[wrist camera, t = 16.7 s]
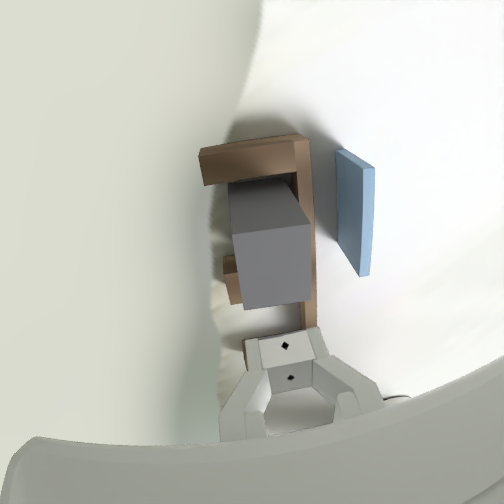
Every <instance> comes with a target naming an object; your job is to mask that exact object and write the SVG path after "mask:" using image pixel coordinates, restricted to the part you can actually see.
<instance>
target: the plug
mask: <svg viewBox="0 0 504 504" xmlns="http://www.w3.org/2000/svg"><path fill="white" fill-rule="evenodd" d="M228 195H229V208H230V220H231V232H232V240H233V246H234V252H235V258H236V265H237V271H238V277H239V283H240V289H241V295H242V301H243V307H244V310H250V309H257V308H264V307H271V306H277V305H284V304H290V303H296V302H302V301H308V300H311V283H312V261H311V223H310V221H309V220H308V218H307V216H306V215H305V213H304V211H303V210H302V208H301V206H300V205H299V203H298V201H297V200H296V198H295V196H294V195H293V193H292V192H291V190H290V188H289V187H288V185H287V183H286V182H285V180H284V179H283V177H274V178H266V179H258V180H250V181H243V182H235V183H228Z"/></svg>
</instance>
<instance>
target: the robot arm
mask: <svg viewBox="0 0 504 504" xmlns="http://www.w3.org/2000/svg"><path fill="white" fill-rule="evenodd" d="M258 342H259V343H258ZM245 348H246V356H247V364H248V372H245V373H244V375H243V377H242V378H241V380H240V382H239V383H238V385H237V386H236V388H235V390H234V391H233V393H232V395H231V396H230V398H229V399H228V401H227V403H226V404H225V406H224V407H223V409H222V410H221V412H220V414H219V431H220V443H209V444H196V445H174V446H128V445H107V444H93V443H82V442H73V441H65V440H58V439H51V438H45V437H33V438H32V439H30V440H29V441H28V442H26V444H24V445H23V446H22V447H21V448H20V449H19V450H18V451H17V452H16V453H15V454H14V455H13V457H12V458H11V460H10V463H9V465H8V468H7V471H6V475H5V478H4V482H3V486H2V491H1V496H0V504H504V355H503V356H501V357H499V358H498V359H496V360H494V361H492V362H490V363H488V364H487V365H485V366H483V367H481V368H479V369H477V370H475V371H473V372H471V373H469V374H467V375H465V376H462V377H460V378H458V379H456V380H454V381H452V382H449V383H447V384H445V385H443V386H440V387H438V388H436V389H433V390H431V391H428V392H426V393H423V394H421V395H418V396H416V397H413V398H409V397H396V398H392V399H388V400H384V401H383V399H382V396H381V394H380V392H379V389H378V387H377V385H376V383H375V382H374V381H372V380H370V379H369V378H367V377H366V376H364V375H363V374H361V373H360V372H358V371H357V370H355V369H354V368H352V367H351V366H349V365H347V364H346V363H344V362H343V361H341V360H340V359H338V358H337V357H335V356H334V355H332V356H330V355H329V352H328V349H327V347H326V344H325V341H324V339H323V336H322V333H321V331H320V328H319V327H318V326H317V327H313V328H308V329H303V330H298V331H293V332H289V333H284V334H280V335H274V336H267V337H261V338H255V339H249V340H245ZM311 386H312V387H313V388H314V389H315V390H316V391H317V392H318V393H319V394H321V395H322V396H323V397H324V398H325V399H326V400H327V401H328V402H330V403H331V404H332V405H333V406H334V407H335V412H334V418H333V423H330V424H326V425H322V426H317V427H313V428H309V429H304V430H299V431H294V432H289V433H284V434H278V435H273V436H269V435H268V431H267V427H266V423H265V419H264V415H263V414H264V411H265V409H266V407H267V405H268V403H269V400H270V398H271V396H272V394H275V393H280V392H285V391H289V390H295V389H300V388H306V387H311Z"/></svg>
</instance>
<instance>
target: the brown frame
mask: <svg viewBox="0 0 504 504" xmlns="http://www.w3.org/2000/svg"><path fill="white" fill-rule="evenodd" d="M335 153H336V176H337V219H338V245H339V246H340V248H341V249H342V251H343V252H344V254H345V255H346V257H347V259H348V260H349V262H350V263H351V265H352V266H353V268H354V270H355V271H356V273H357V274H358V276H359V277H363V276H368V275H369V273H370V262H371V250H372V236H373V218H374V191H375V168H374V167H373V166H371V165H370V164H368V163H367V162H365V161H364V160H362V159H360V158H359V157H357V156H356V155H354V154H353V153H351V152H349V151H348V150H346V149H340V150H335ZM198 157H199V162H200V167H201V172H202V177H203V182H204V186H207V185H213V184H218V183H224V182H230V181H236V180H242V179H248V178H254V177H261V176H267V175H274V174H281V173H288V172H290V180H291V191H292V193H293V195H294V196H295V198H296V200H297V201H298V203H299V205H300V206H301V208H302V210H303V211H304V213H305V215H306V216H307V218H308V220H309V221H310V223H311V261H312V283H311V300H308V301H302V302H300V320H301V330H303V329H308V328H313V327H317V290H316V248H315V223H314V203H313V186H312V171H311V158H310V146H309V140H308V139H307V138H305V137H304V136H302V135H301V134H291V135H283V136H275V137H267V138H260V139H253V140H246V141H240V142H234V143H228V144H222V145H216V146H210V147H205V148H201V149H200V152H199V156H198ZM223 270H224V278H225V283H226V287H227V291H228V295H229V300H230V304H231V305H233V304H240V303H243V301H242V295H241V289H240V283H239V277H238V271H237V265H236V258H235V255H232V256H226V257H223ZM288 333H289V332H288ZM282 334H284V333H282ZM277 335H280V334H277ZM271 336H274V335H271ZM265 337H267V336H265ZM259 338H261V337H259ZM253 339H255V338H253ZM247 340H249V339H247ZM258 343H259V342H258ZM242 344H243V354H244V361H245V365H246V369H247V371H248V364H247V356H246V348H245V340H242Z"/></svg>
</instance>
